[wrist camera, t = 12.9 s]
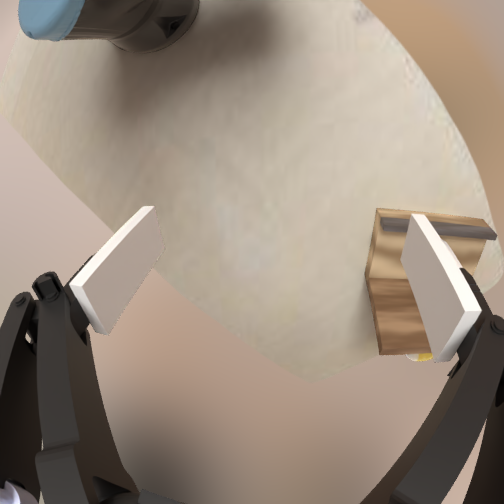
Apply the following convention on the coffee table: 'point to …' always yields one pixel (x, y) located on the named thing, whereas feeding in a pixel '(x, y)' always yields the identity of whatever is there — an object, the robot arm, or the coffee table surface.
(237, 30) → the coffee table surface
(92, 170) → the coffee table surface
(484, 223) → the brown piece
